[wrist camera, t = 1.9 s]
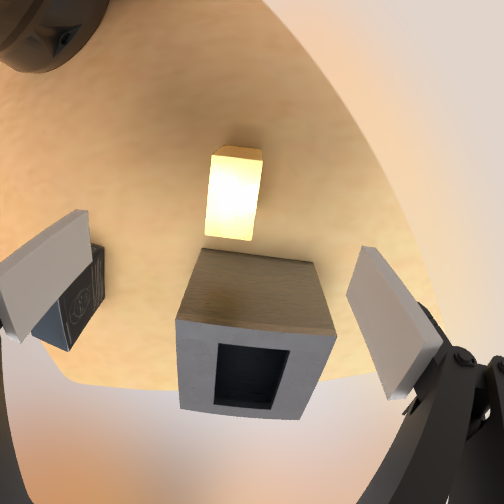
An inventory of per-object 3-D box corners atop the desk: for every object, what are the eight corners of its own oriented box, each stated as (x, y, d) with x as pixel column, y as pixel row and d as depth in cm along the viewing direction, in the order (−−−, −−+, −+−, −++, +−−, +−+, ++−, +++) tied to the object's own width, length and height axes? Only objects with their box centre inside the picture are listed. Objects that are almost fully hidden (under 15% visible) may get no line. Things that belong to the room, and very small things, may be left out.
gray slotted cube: (202, 248, 31) (175, 318, 20) (312, 262, 32) (337, 336, 21) (197, 332, 36) (180, 408, 26) (290, 343, 37) (299, 419, 26)
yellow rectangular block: (224, 144, 26) (211, 155, 19) (261, 149, 27) (263, 161, 19) (217, 204, 29) (204, 235, 22) (252, 208, 29) (251, 240, 22)
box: (67, 236, 31) (16, 279, 21) (105, 246, 31) (58, 296, 22) (70, 288, 34) (30, 336, 25) (105, 299, 35) (69, 354, 25)
